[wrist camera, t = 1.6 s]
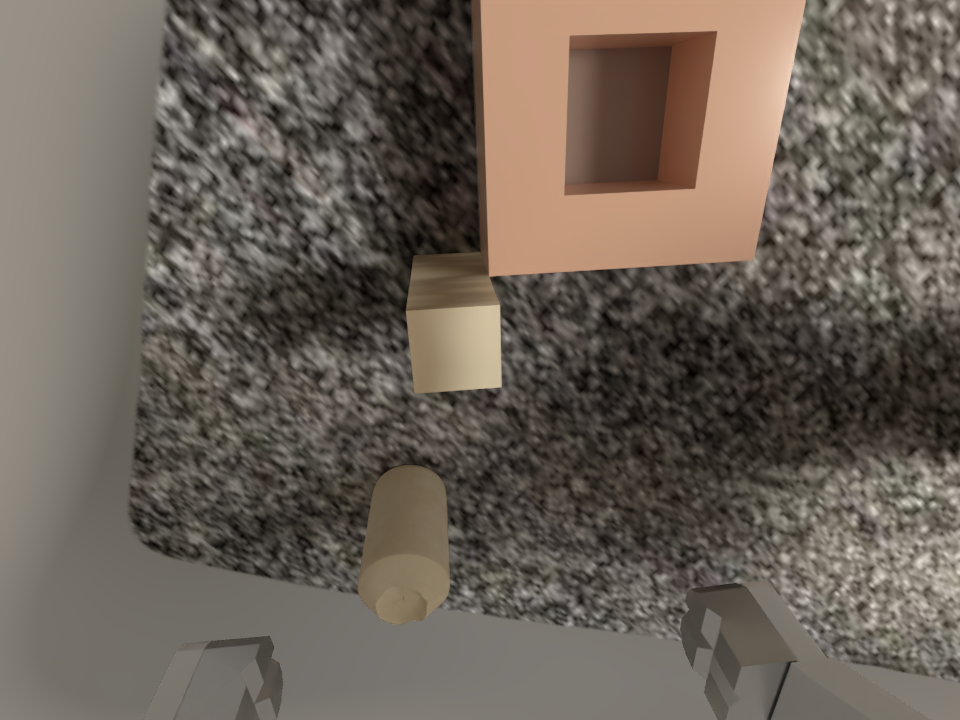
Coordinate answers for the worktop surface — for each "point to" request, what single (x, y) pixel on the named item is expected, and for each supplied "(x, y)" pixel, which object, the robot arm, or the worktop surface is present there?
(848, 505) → the worktop surface
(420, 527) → the candle
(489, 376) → the peg
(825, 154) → the worktop surface
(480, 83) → the well block
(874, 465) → the worktop surface
